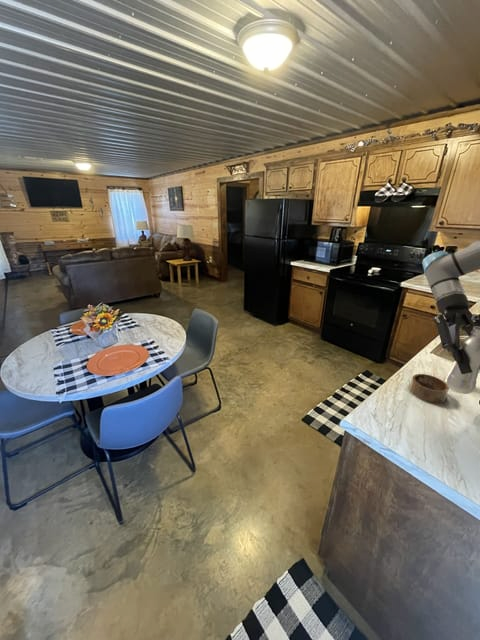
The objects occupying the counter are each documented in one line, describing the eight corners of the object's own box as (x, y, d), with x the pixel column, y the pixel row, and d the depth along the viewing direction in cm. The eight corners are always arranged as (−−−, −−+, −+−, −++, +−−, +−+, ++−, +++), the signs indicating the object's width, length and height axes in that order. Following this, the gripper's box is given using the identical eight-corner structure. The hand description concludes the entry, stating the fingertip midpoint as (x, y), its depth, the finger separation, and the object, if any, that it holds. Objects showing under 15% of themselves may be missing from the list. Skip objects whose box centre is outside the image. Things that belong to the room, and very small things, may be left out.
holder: (444, 394, 104) (449, 381, 102) (442, 410, 96) (448, 395, 94) (410, 383, 111) (415, 370, 109) (406, 397, 103) (410, 383, 100)
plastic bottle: (439, 383, 81) (460, 324, 73) (459, 383, 81) (482, 323, 74) (456, 397, 75) (481, 334, 67) (478, 396, 75) (505, 333, 68)
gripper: (469, 303, 85) (498, 374, 76) (411, 303, 83) (435, 376, 74) (490, 292, 78) (526, 369, 69) (428, 292, 77) (456, 370, 68)
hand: (479, 372), depth 72 cm, fingers closed on plastic bottle, 6 cm apart
